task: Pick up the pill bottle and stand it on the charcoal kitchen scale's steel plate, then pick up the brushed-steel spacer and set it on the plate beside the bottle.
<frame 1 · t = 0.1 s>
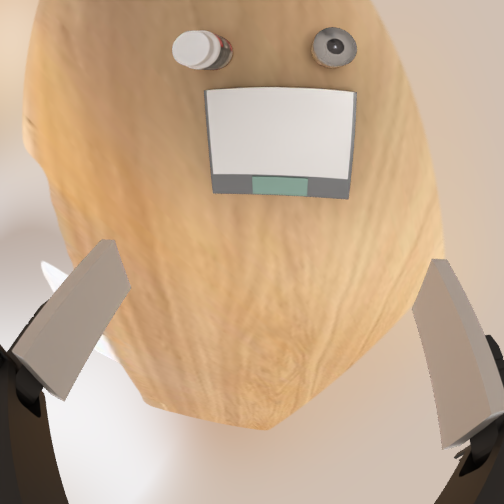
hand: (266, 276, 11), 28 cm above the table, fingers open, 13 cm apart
pill bottle: (214, 53, 29), on the table
steel spacer: (329, 51, 26), on the table
kitchen scale: (281, 139, 34), on the table
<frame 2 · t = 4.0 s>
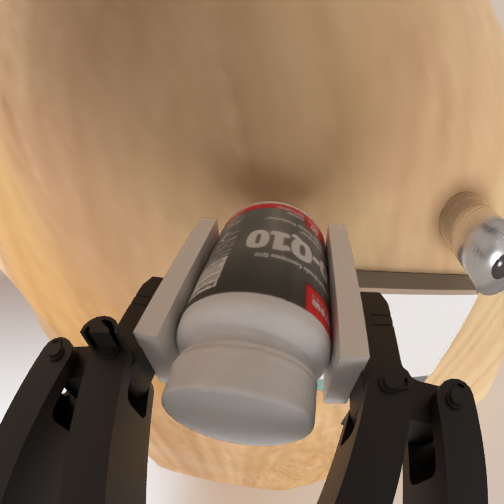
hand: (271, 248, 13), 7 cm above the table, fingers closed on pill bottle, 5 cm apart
pill bottle: (273, 243, 13), point 6 cm above the table, touching gripper
steel spacer: (462, 219, 17), on the table
kitchen scale: (361, 332, 24), on the table
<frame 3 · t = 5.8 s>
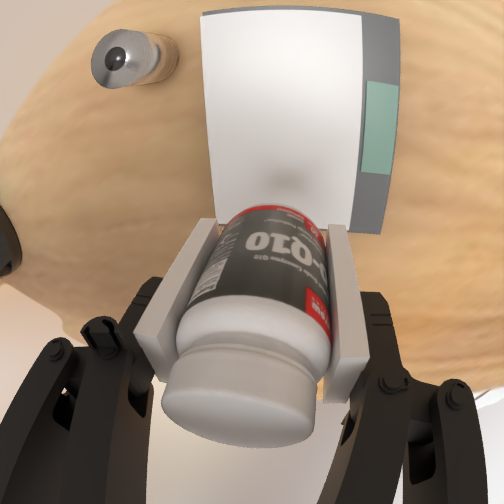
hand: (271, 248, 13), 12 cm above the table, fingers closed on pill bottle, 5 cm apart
pill bottle: (272, 244, 13), point 12 cm above the table, touching gripper
steel spacer: (155, 58, 19), on the table
kitchen scale: (303, 117, 20), on the table
when the fingers open (3 cm above the table, at t = 7.6 s): pill bottle stays where it is, resting on kitchen scale.
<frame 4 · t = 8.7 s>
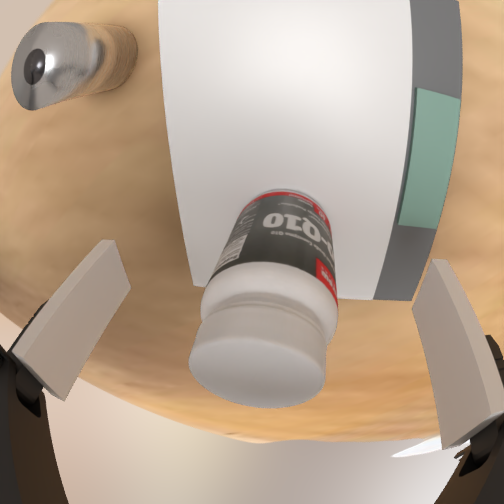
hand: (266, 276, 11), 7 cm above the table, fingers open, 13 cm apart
pill bottle: (284, 228, 14), point 2 cm above the table, touching kitchen scale
steel spacer: (107, 57, 12), on the table
kitchen scale: (317, 138, 14), on the table
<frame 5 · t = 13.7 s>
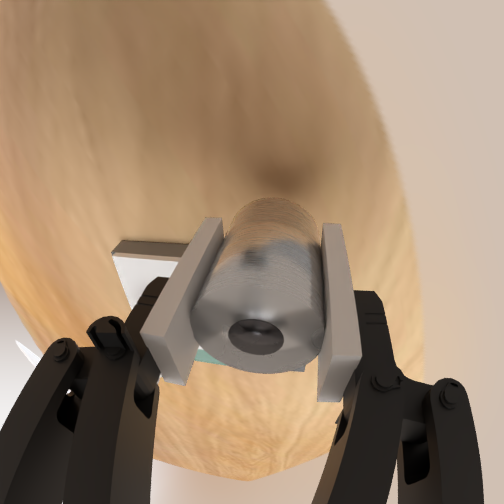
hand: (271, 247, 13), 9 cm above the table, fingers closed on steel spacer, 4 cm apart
steel spacer: (274, 239, 14), point 7 cm above the table, touching gripper
kitchen scale: (219, 306, 28), on the table
when the fingers open (3 cm above the table, at t = 17.0 s): steel spacer stays where it is, resting on kitchen scale.
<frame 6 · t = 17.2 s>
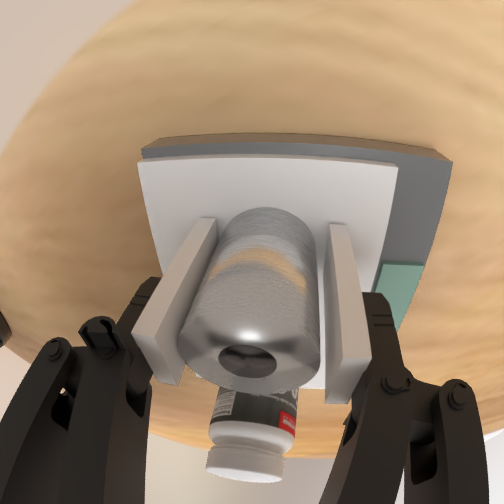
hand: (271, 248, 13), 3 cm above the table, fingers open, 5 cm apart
pill bottle: (264, 353, 18), point 2 cm above the table, touching kitchen scale
steel spacer: (267, 250, 13), point 3 cm above the table, touching gripper, kitchen scale
kitchen scale: (293, 283, 17), on the table
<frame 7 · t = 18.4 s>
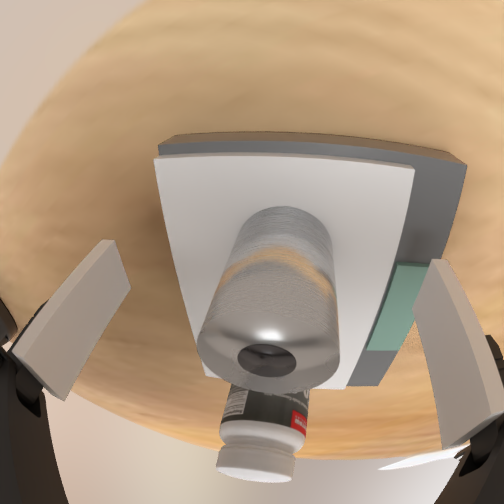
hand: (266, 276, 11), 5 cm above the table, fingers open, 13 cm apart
pill bottle: (276, 352, 18), point 2 cm above the table, touching kitchen scale
steel spacer: (284, 249, 13), point 3 cm above the table, touching kitchen scale
kitchen scale: (306, 283, 17), on the table
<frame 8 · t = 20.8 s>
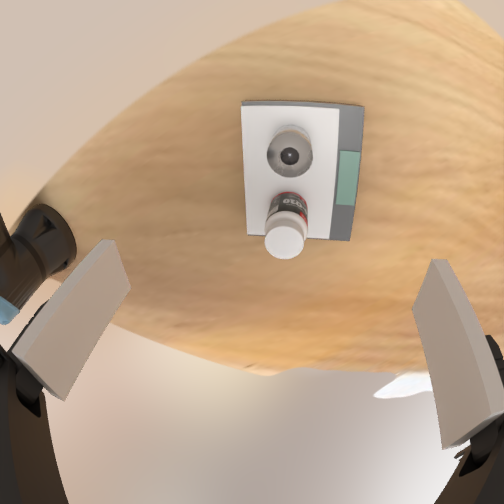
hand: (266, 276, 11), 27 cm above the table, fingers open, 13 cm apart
pill bottle: (288, 206, 36), point 2 cm above the table, touching kitchen scale
steel spacer: (291, 142, 31), point 3 cm above the table, touching kitchen scale
kitchen scale: (302, 169, 35), on the table
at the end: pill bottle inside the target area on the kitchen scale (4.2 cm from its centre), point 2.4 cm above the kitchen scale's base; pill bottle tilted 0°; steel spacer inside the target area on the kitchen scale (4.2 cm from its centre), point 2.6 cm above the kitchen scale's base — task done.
